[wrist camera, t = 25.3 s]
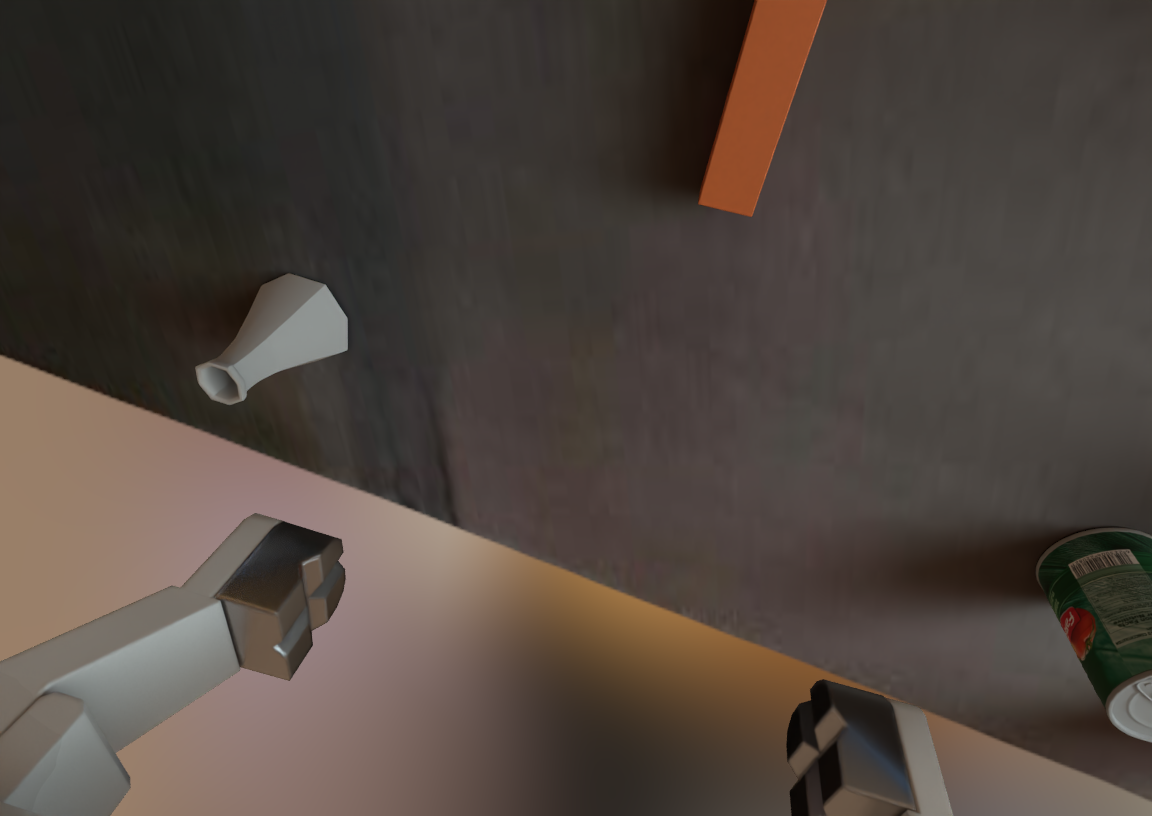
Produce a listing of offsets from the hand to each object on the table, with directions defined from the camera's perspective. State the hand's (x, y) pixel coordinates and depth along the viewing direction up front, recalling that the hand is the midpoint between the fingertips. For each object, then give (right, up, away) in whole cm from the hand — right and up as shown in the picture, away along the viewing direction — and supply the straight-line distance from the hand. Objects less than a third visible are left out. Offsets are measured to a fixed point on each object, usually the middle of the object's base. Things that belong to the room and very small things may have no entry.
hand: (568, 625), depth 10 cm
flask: (-20, +11, +37) cm, 43 cm away
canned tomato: (+38, -8, +34) cm, 52 cm away
